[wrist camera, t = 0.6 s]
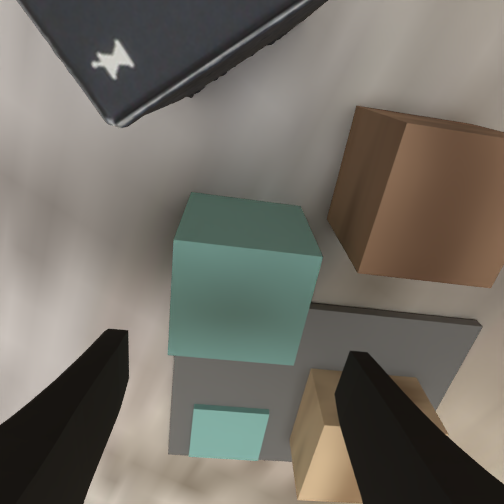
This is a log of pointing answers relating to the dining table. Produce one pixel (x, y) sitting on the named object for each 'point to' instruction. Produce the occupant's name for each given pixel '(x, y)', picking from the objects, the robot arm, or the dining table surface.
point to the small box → (157, 45)
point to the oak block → (333, 439)
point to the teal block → (241, 280)
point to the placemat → (321, 357)
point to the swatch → (227, 432)
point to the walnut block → (421, 198)
